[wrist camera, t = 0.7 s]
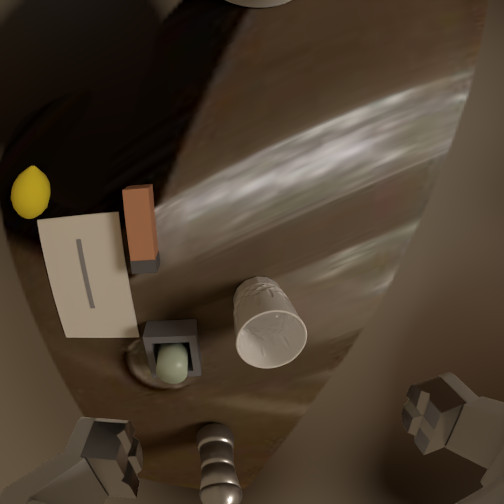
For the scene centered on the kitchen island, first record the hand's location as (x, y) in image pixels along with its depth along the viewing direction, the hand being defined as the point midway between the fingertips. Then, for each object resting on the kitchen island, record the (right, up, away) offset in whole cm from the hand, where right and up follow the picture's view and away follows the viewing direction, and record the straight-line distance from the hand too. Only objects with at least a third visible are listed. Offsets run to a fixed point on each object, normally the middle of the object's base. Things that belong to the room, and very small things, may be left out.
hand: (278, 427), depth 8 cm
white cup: (0, -1, +36) cm, 36 cm away
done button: (-11, -8, +34) cm, 37 cm away
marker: (-14, +8, +30) cm, 34 cm away
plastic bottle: (-8, -27, +44) cm, 52 cm away
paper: (-23, +1, +31) cm, 39 cm away
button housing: (-12, -8, +36) cm, 39 cm away
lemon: (-28, +13, +26) cm, 40 cm away
